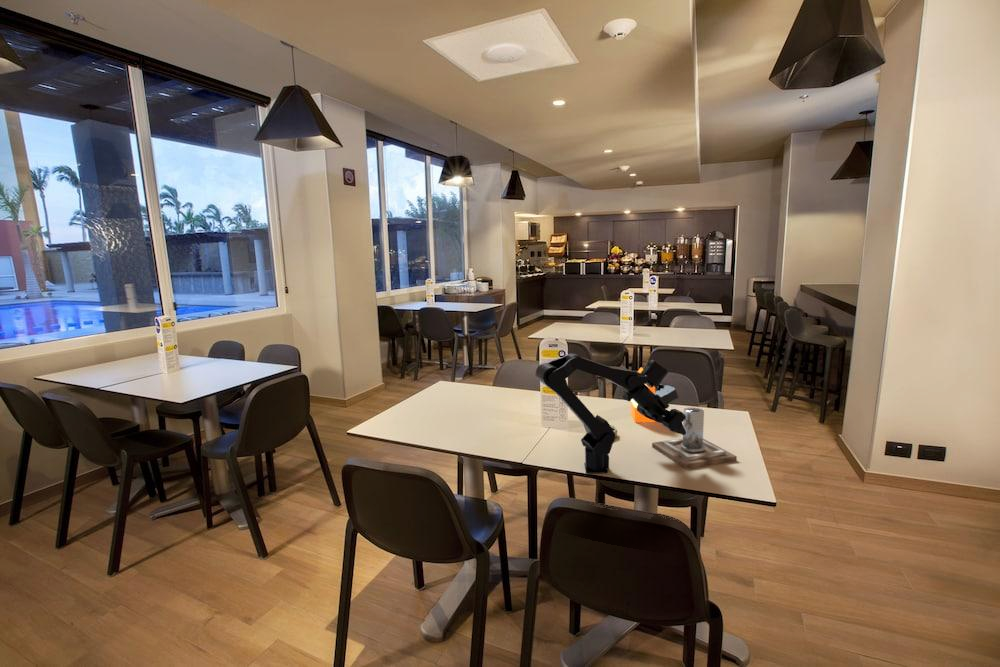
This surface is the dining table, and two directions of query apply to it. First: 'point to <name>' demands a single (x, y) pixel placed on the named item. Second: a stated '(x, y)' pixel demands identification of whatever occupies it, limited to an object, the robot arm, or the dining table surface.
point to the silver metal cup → (693, 431)
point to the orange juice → (634, 412)
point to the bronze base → (690, 460)
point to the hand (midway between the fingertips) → (675, 428)
